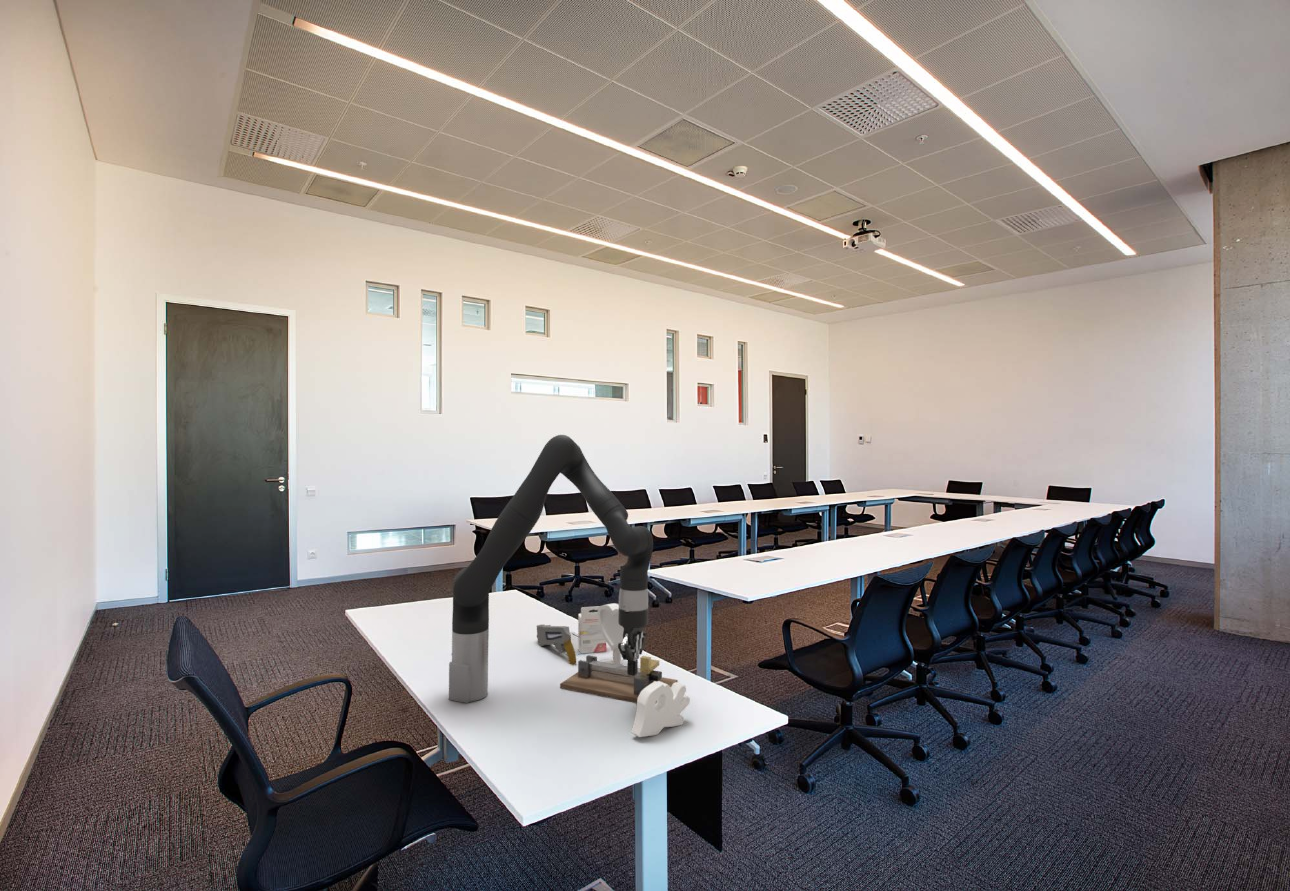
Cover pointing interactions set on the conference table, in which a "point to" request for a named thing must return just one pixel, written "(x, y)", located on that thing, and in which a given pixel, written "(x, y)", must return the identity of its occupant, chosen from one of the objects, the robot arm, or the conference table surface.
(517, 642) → the conference table surface
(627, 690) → the walnut board
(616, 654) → the heart sculpture
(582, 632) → the ink cartridge box
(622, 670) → the tong arm
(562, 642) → the gun
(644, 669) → the lock bolt
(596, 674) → the tong frame
